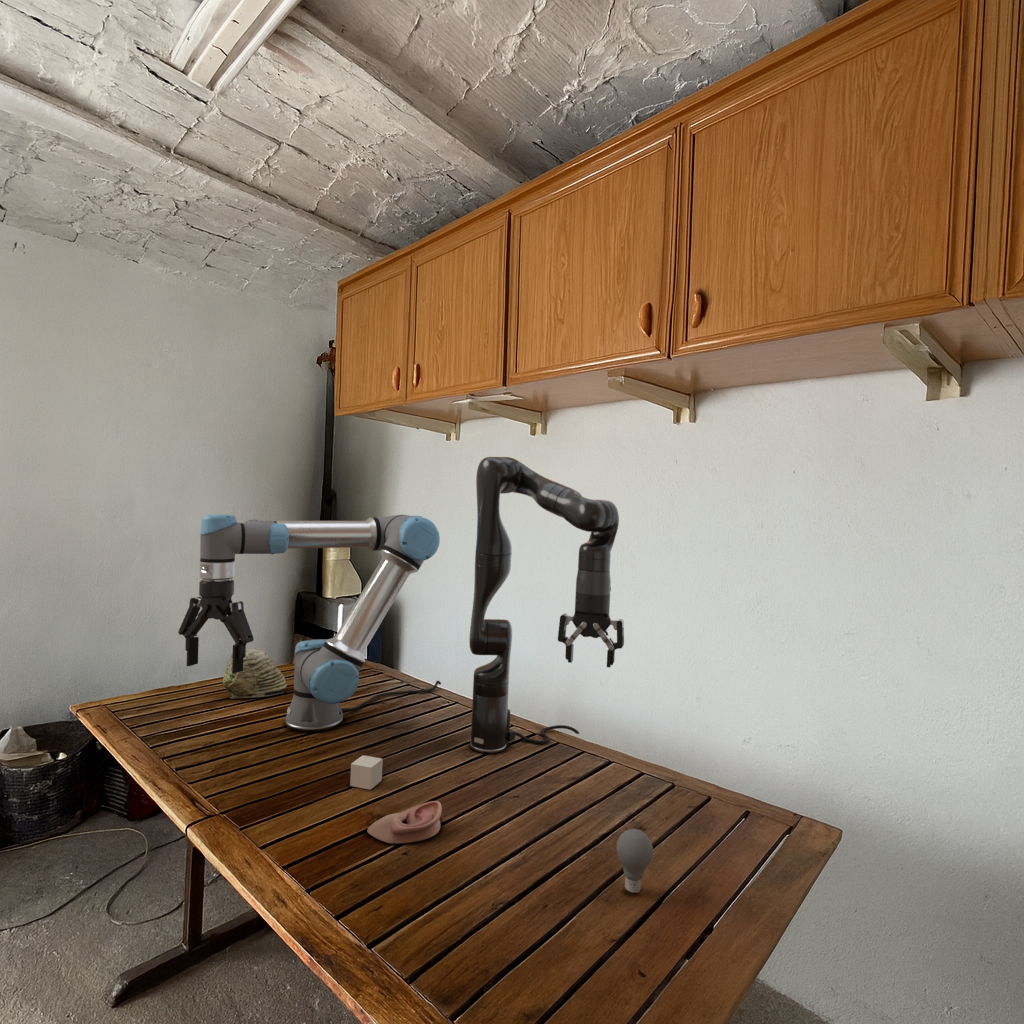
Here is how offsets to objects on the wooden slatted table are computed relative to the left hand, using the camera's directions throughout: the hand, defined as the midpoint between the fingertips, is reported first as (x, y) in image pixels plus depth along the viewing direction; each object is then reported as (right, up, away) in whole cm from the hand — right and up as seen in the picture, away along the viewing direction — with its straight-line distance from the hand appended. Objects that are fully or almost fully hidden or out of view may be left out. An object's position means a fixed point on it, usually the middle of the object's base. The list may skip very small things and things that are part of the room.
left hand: (214, 668), depth 151 cm
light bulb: (+91, -26, -45) cm, 105 cm away
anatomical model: (+50, -24, -28) cm, 62 cm away
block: (+38, -23, -9) cm, 46 cm away
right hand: (+88, +4, -12) cm, 89 cm away
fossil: (-10, -20, +48) cm, 52 cm away
